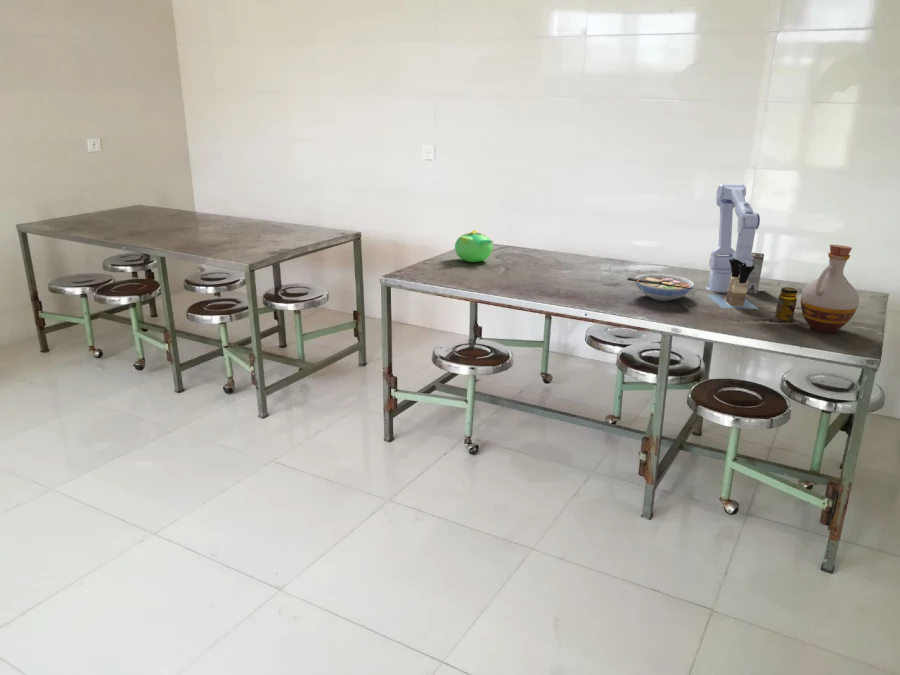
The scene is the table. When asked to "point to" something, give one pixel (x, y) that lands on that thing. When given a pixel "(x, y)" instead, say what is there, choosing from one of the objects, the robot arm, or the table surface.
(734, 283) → the maple cube
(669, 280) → the ramen bowl
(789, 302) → the condiment
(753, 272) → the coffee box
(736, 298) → the walnut cube
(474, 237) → the green teapot
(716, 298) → the board
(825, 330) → the jug
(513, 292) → the table surface
